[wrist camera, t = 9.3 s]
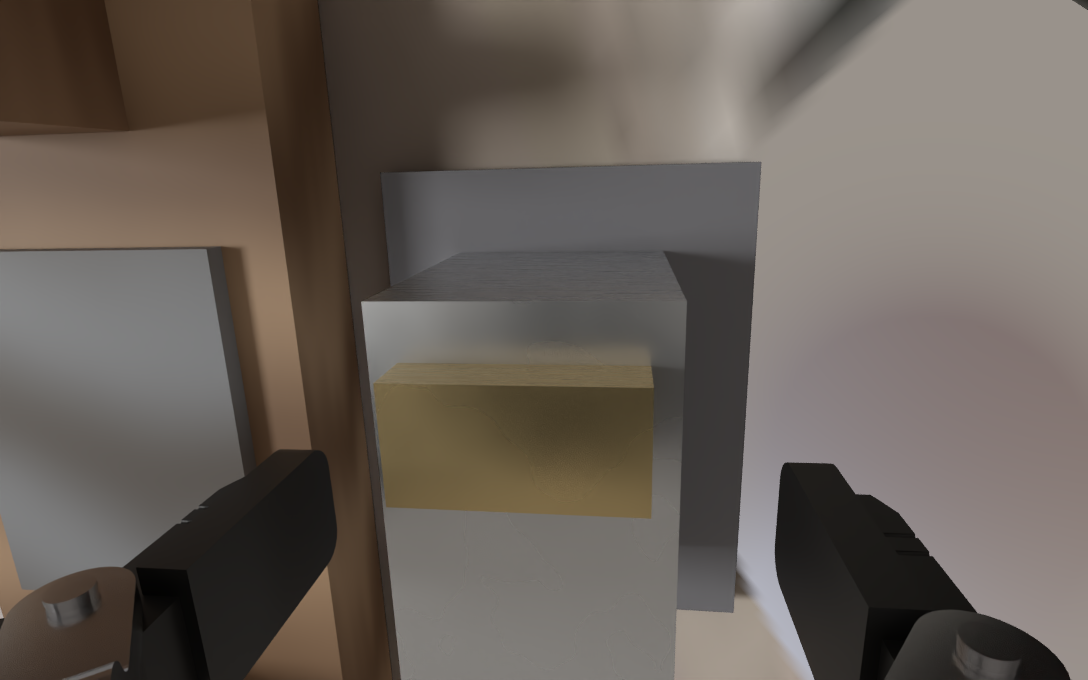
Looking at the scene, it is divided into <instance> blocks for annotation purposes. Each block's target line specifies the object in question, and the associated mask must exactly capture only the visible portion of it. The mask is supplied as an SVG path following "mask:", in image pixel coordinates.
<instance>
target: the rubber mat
mask: <svg viewBox="0 0 1088 680" xmlns="http://www.w3.org/2000/svg"><path fill="white" fill-rule="evenodd" d="M380 175H381V186H382V197H383V208H384V218H385V229H386V240H387V251H388V262H389V272H390V283H391V286H393V285H395V284H397V283H399V282H401V281H403V280H405V279H407V278H409V277H411V276H413V275H415V274H417V273H419V272H421V271H423V270H425V269H427V268H429V267H432V266H434V265H436V264H438V263H440V262H442V261H444V260H446V259H448V258H450V257H452V256H454V255H456V254H458V253H485V252H573V251H662V250H663V252H664V254H665V256H666V258H667V260H668V262H669V264H670V267H671V269H672V271H673V273H674V275H675V277H676V279H677V281H678V283H679V286H680V288H681V290H682V292H683V294H684V296H685V298H686V300H687V314H686V343H685V373H684V402H683V431H682V461H681V490H680V520H679V549H678V579H677V608H676V609H681V610H697V611H713V612H730V613H733V611H734V595H735V579H736V563H737V547H738V530H739V515H740V514H739V513H740V497H741V482H742V466H743V450H744V434H745V433H744V432H745V418H746V400H747V385H748V368H749V353H750V337H751V320H752V305H753V288H754V271H755V256H756V239H757V223H758V208H759V191H760V175H761V162H735V163H701V164H666V165H631V166H596V167H562V168H527V169H492V170H458V171H423V172H388V173H380Z"/></svg>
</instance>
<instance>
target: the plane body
mask: <svg viewBox="0 0 1088 680" xmlns="http://www.w3.org/2000/svg"><path fill="white" fill-rule="evenodd" d="M279 449H295V450H320V451H322V452H324V454H325V455H326V457H327V460H328V464H329V471H330V478H331V485H332V493H333V500H334V507H335V514H336V521H337V542H336V547H335V550H334V554H333V556H332V558H331V560H330V562H329V564H328V565H327V566H326V568H325V569H324V571H323V572H322V573H321V575H320V576H319V577H318V579H317V580H316V581H315V583H314V584H313V586H312V587H311V588H310V590H309V591H308V592H307V594H306V595H305V596H304V598H303V599H302V601H301V602H300V603H299V605H298V606H297V607H296V609H295V610H294V611H293V613H292V614H291V616H290V617H289V618H288V620H287V621H286V622H285V624H284V625H283V626H282V628H281V629H280V631H279V632H278V633H277V635H276V636H275V637H274V639H273V640H272V641H271V643H270V644H269V645H268V647H267V648H266V650H265V651H264V652H263V654H262V655H261V656H260V658H259V659H258V660H257V662H256V663H255V665H254V666H253V667H252V669H251V670H250V671H249V673H248V674H247V675H246V677H245V678H244V680H392V672H391V663H390V654H389V645H388V636H387V627H386V618H385V609H384V600H383V591H382V581H381V572H380V563H379V554H378V545H377V536H376V527H375V518H374V509H373V500H372V491H371V482H370V473H369V463H368V454H367V445H366V436H365V427H364V418H363V409H362V400H361V391H360V382H359V373H358V364H357V355H356V345H355V336H354V327H353V318H352V309H351V300H350V291H349V282H348V273H347V264H346V255H345V246H344V237H343V227H342V218H341V209H340V200H339V191H338V182H337V173H336V164H335V155H334V146H333V137H332V128H331V118H330V109H329V100H328V91H327V82H326V73H325V64H324V55H323V46H322V37H321V28H320V19H319V10H318V0H0V607H1V610H2V613H3V617H4V618H5V617H6V615H7V614H8V612H9V611H10V610H11V609H12V608H13V607H14V606H15V605H16V604H17V603H18V602H19V601H20V600H22V599H23V598H24V597H26V596H27V595H29V594H30V593H32V592H33V591H35V590H36V589H38V588H40V587H42V586H44V585H46V584H48V583H50V582H52V581H54V580H56V579H59V578H61V577H64V576H67V575H69V574H73V573H76V572H79V571H83V570H87V569H92V568H98V567H108V566H109V567H124V566H125V565H126V564H127V563H129V562H130V561H131V560H132V559H133V558H135V557H136V556H137V555H138V554H140V553H141V552H142V551H143V550H145V549H146V548H147V547H148V546H150V545H151V544H152V543H153V542H154V541H156V540H157V539H158V538H159V537H161V536H162V535H163V534H164V533H166V532H167V531H168V530H169V529H171V528H172V527H173V526H174V525H176V524H181V520H182V519H183V518H184V517H185V516H187V515H188V514H189V513H190V512H192V511H193V510H194V509H198V508H199V505H200V504H202V503H203V502H204V501H205V500H206V499H208V498H209V497H210V496H211V495H213V494H214V493H215V492H216V491H218V490H219V489H220V488H223V487H225V486H227V485H229V484H231V483H233V482H235V481H237V480H239V479H241V478H243V477H245V476H246V475H248V474H249V473H250V472H251V471H252V470H254V469H255V468H256V467H257V466H258V465H260V464H261V463H262V462H263V461H264V460H266V459H267V458H268V457H269V456H270V455H272V454H273V453H274V452H275V451H277V450H279Z"/></svg>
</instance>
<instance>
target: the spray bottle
mask: <svg viewBox="0 0 1088 680" xmlns="http://www.w3.org/2000/svg"><path fill="white" fill-rule="evenodd" d="M1073 1H1075V2H1076V3H1078V4H1079V5H1081V6H1082V7H1084V8H1085V9H1087V10H1088V0H1073Z"/></svg>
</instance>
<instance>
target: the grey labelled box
mask: <svg viewBox="0 0 1088 680" xmlns="http://www.w3.org/2000/svg"><path fill="white" fill-rule="evenodd" d="M361 305H362V314H363V323H364V333H365V342H366V352H367V361H368V371H369V380H370V390H371V399H372V409H373V418H374V428H375V437H376V447H377V456H378V466H379V475H380V485H381V494H382V504H383V513H384V523H385V532H386V542H387V551H388V560H389V570H390V579H391V589H392V598H393V608H394V617H395V627H396V636H397V646H398V655H399V665H400V674H401V680H674V667H675V638H676V608H677V579H678V549H679V520H680V490H681V461H682V431H683V402H684V373H685V343H686V314H687V300H686V298H685V296H684V294H683V292H682V290H681V288H680V286H679V283H678V281H677V279H676V277H675V275H674V273H673V271H672V269H671V267H670V264H669V262H668V260H667V258H666V256H665V254H664V252H663V250H662V251H573V252H485V253H458V254H456V255H454V256H452V257H450V258H448V259H446V260H444V261H442V262H440V263H438V264H436V265H434V266H432V267H429V268H427V269H425V270H423V271H421V272H419V273H417V274H415V275H413V276H411V277H409V278H407V279H405V280H403V281H401V282H399V283H397V284H395V285H393V286H391V287H389V288H387V289H385V290H383V291H381V292H379V293H377V294H375V295H373V296H371V297H369V298H367V299H365V300H363V301H361Z"/></svg>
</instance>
